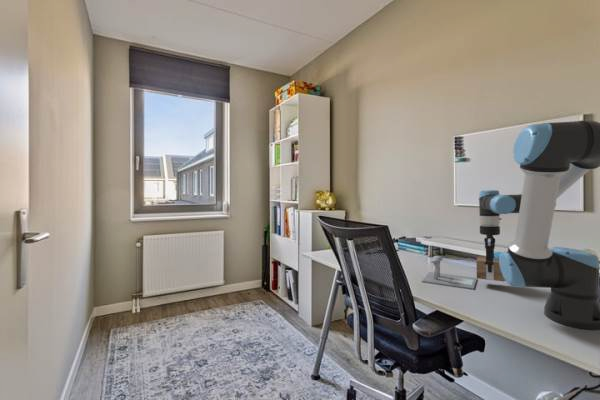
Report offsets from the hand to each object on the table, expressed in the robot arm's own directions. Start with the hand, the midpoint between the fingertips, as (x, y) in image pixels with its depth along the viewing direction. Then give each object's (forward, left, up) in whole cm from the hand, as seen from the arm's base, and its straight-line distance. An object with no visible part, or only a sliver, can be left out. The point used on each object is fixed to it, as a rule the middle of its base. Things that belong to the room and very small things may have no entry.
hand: (490, 277), depth 132 cm
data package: (+17, -6, -4) cm, 18 cm away
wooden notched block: (0, 0, 0) cm, 0 cm away
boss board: (0, +16, -4) cm, 17 cm away
